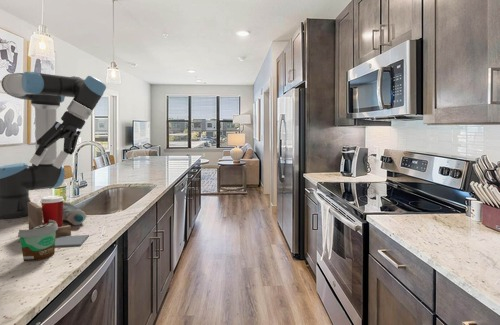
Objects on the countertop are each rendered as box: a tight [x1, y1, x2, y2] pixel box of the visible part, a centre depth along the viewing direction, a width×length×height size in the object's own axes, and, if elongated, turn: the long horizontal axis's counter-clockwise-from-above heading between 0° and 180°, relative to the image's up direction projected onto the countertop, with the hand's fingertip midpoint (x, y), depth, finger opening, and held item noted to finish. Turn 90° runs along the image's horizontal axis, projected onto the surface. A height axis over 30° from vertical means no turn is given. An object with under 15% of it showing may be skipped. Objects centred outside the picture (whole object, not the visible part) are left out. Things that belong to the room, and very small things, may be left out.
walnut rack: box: [27, 201, 72, 239], centre depth 121 cm, size 10×13×12 cm
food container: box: [17, 220, 58, 262], centre depth 100 cm, size 12×6×10 cm, turn 170°
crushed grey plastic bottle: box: [63, 201, 87, 226], centre depth 139 cm, size 13×7×25 cm
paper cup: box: [40, 195, 65, 227], centre depth 122 cm, size 8×8×14 cm
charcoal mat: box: [55, 234, 90, 248], centre depth 114 cm, size 10×10×1 cm
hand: (45, 165), depth 117 cm, fingers open, 13 cm apart
